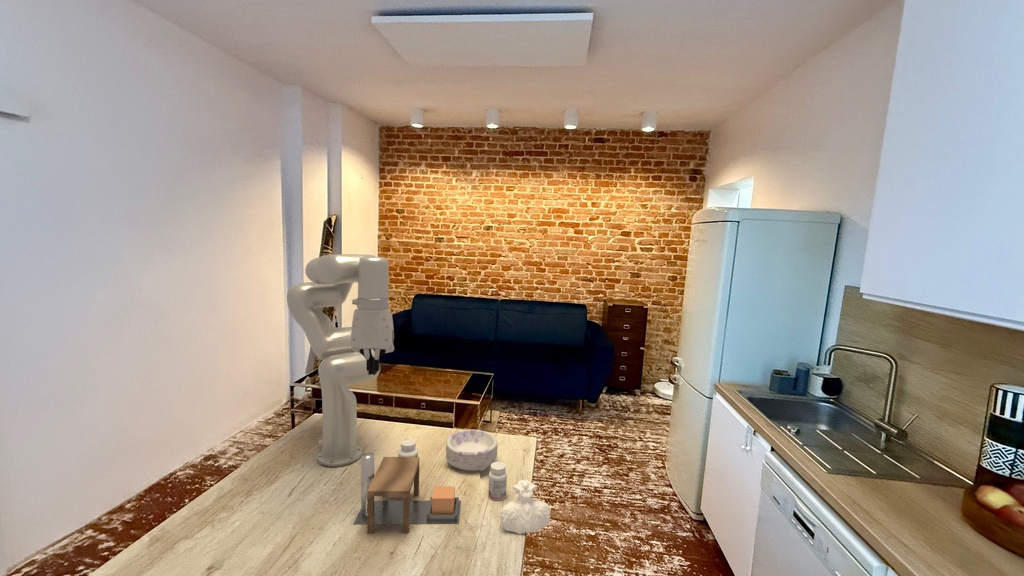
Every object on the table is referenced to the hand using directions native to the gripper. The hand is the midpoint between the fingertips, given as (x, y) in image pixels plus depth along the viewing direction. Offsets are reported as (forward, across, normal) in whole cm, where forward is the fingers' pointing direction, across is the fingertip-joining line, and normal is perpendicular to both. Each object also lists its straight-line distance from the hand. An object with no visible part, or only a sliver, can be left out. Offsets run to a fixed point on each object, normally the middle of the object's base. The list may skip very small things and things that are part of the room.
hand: (373, 373), depth 111 cm
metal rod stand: (+31, +12, -14) cm, 36 cm away
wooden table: (+31, +12, -14) cm, 36 cm away
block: (+30, +20, -14) cm, 39 cm away
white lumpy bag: (+31, +40, -17) cm, 53 cm away
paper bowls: (+31, +26, +10) cm, 42 cm away
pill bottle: (+31, +34, -5) cm, 46 cm away
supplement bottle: (+31, +9, +5) cm, 33 cm away
